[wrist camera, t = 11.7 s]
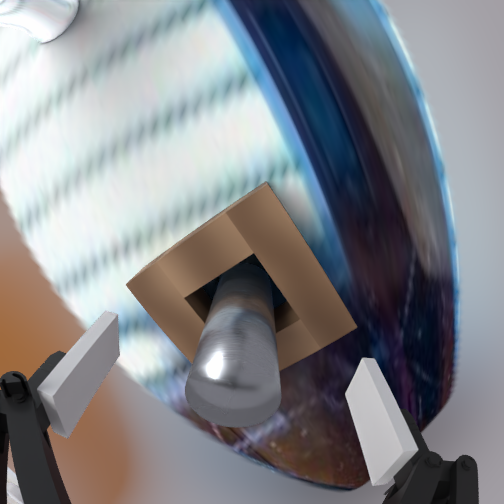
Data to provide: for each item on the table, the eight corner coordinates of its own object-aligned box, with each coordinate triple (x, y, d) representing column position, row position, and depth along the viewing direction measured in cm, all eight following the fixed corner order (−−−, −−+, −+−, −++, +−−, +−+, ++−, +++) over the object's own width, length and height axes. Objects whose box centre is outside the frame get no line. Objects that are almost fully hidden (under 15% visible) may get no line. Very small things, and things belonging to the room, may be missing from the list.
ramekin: (2, 475, 48) (-4, 484, 43) (23, 489, 48) (18, 498, 43) (15, 489, 51) (10, 498, 46) (36, 502, 51) (32, 512, 46)
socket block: (266, 181, 22) (267, 184, 19) (344, 304, 25) (357, 327, 21) (143, 267, 25) (125, 284, 21) (228, 369, 27) (224, 396, 23)
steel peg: (251, 252, 24) (244, 344, 12) (281, 294, 25) (298, 405, 13) (207, 281, 25) (165, 384, 12) (238, 320, 26) (223, 436, 13)
